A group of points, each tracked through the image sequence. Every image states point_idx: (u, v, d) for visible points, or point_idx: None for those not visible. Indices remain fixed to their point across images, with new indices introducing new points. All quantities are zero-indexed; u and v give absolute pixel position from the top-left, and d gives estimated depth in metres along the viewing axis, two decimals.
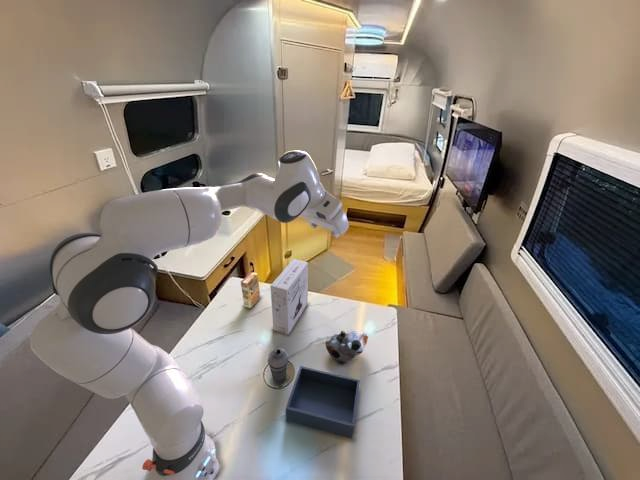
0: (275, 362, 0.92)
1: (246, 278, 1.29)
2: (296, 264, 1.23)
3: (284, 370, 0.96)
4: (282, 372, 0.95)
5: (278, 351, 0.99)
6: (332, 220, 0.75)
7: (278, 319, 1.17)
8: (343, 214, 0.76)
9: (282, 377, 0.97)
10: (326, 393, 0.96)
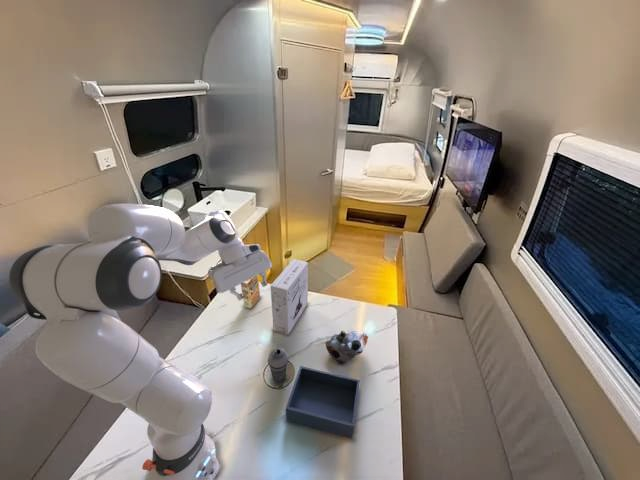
0: (275, 362, 0.92)
1: None
2: (296, 264, 1.23)
3: (284, 370, 0.96)
4: (282, 372, 0.95)
5: (278, 351, 0.99)
6: (261, 250, 0.96)
7: (278, 319, 1.17)
8: None
9: (282, 377, 0.97)
10: (326, 393, 0.96)
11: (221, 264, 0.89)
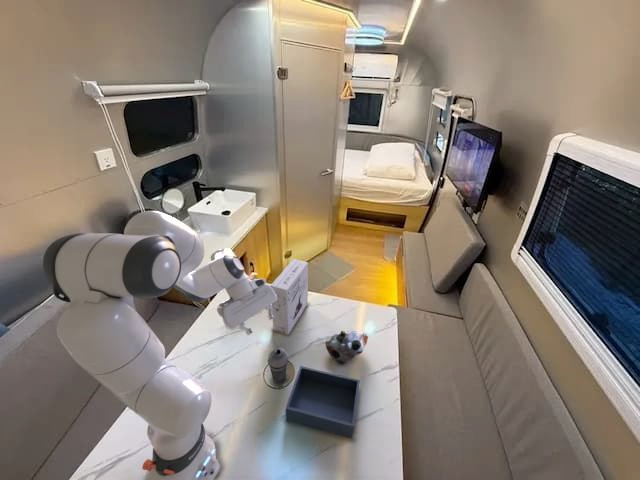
0: (275, 362, 0.92)
1: None
2: (296, 264, 1.23)
3: (284, 370, 0.96)
4: (282, 372, 0.95)
5: (278, 351, 0.99)
6: (266, 284, 1.00)
7: (278, 319, 1.17)
8: None
9: (282, 377, 0.97)
10: (326, 393, 0.96)
11: (229, 300, 0.92)
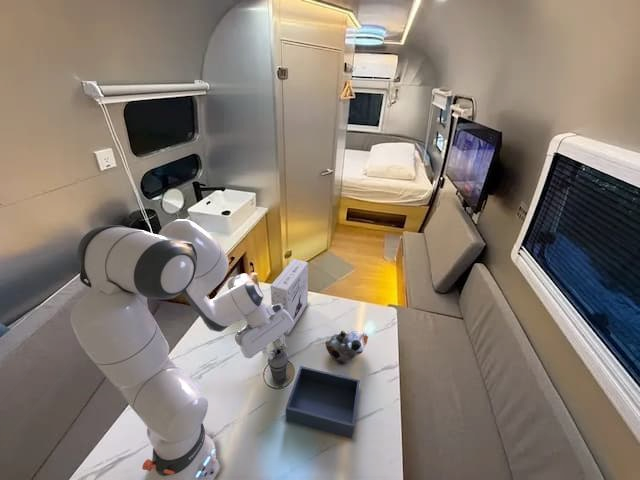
0: (274, 362, 0.92)
1: None
2: (296, 264, 1.23)
3: (284, 370, 0.96)
4: (282, 372, 0.95)
5: (278, 351, 0.98)
6: (283, 309, 0.98)
7: None
8: None
9: (282, 377, 0.97)
10: (326, 393, 0.96)
11: (247, 328, 0.90)
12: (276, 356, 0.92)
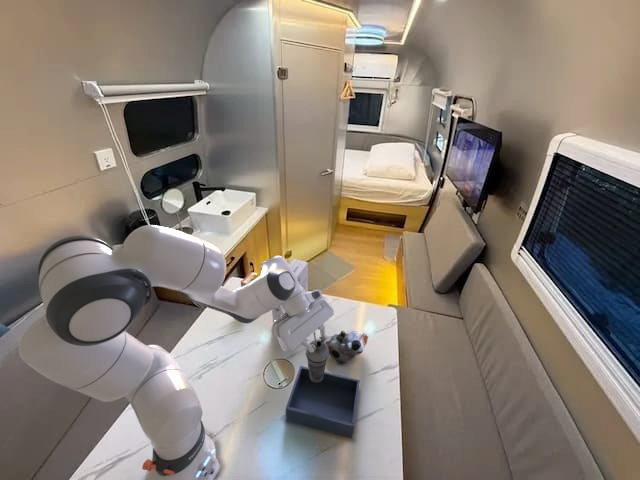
0: (315, 356, 0.81)
1: (246, 278, 1.29)
2: (296, 264, 1.23)
3: (324, 365, 0.84)
4: (322, 367, 0.84)
5: (316, 343, 0.87)
6: (322, 296, 0.87)
7: None
8: None
9: (321, 373, 0.86)
10: (326, 393, 0.96)
11: (284, 316, 0.79)
12: (317, 349, 0.81)
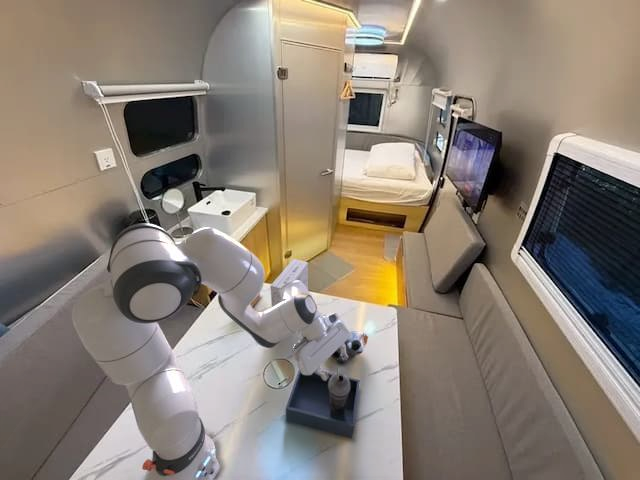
0: (338, 391, 0.83)
1: None
2: (296, 264, 1.23)
3: (346, 398, 0.87)
4: (344, 400, 0.86)
5: None
6: (338, 319, 0.89)
7: None
8: None
9: (343, 405, 0.88)
10: (326, 393, 0.96)
11: (303, 341, 0.81)
12: (339, 383, 0.84)
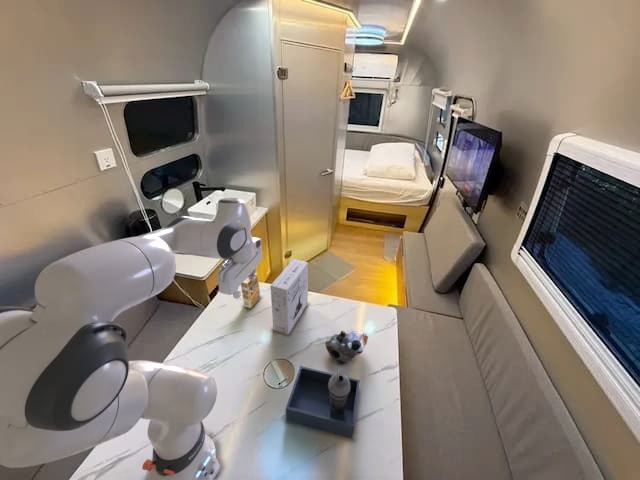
0: (338, 391, 0.83)
1: (246, 278, 1.29)
2: (296, 264, 1.23)
3: (346, 398, 0.87)
4: (344, 400, 0.86)
5: None
6: (259, 244, 0.89)
7: (278, 319, 1.17)
8: None
9: (343, 405, 0.88)
10: (326, 393, 0.96)
11: (230, 262, 0.77)
12: (339, 383, 0.84)
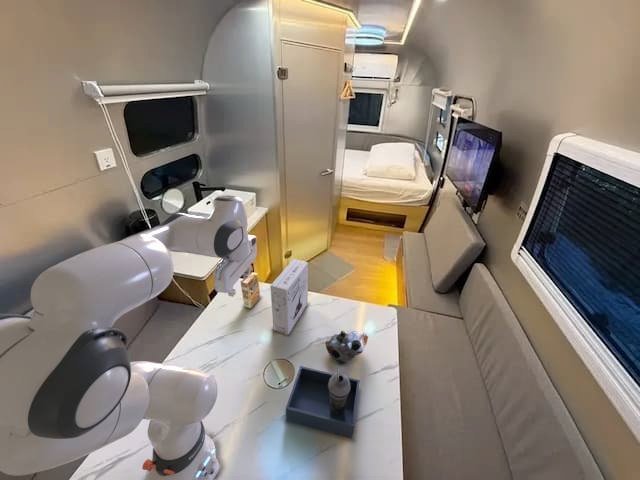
0: (338, 391, 0.83)
1: (246, 278, 1.29)
2: (296, 264, 1.23)
3: (346, 398, 0.87)
4: (344, 400, 0.86)
5: None
6: None
7: (278, 319, 1.17)
8: None
9: (343, 405, 0.88)
10: (326, 393, 0.96)
11: (226, 260, 0.76)
12: (339, 383, 0.84)
